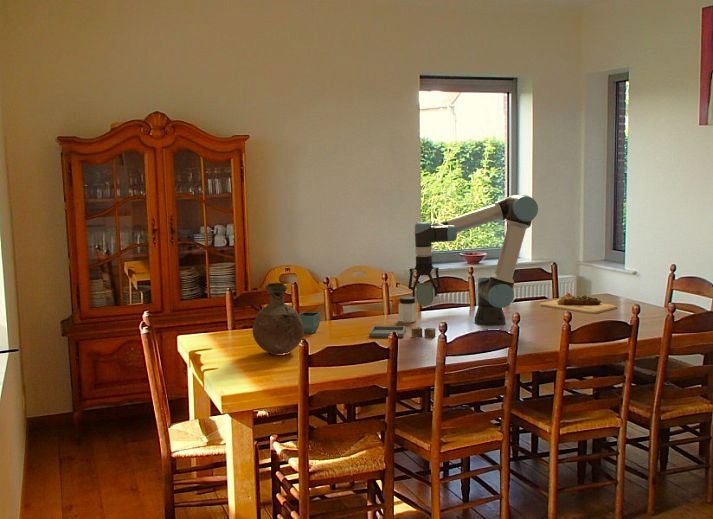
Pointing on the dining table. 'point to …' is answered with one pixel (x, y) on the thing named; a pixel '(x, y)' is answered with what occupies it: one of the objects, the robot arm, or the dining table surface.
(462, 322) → the dining table surface
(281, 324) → the jug
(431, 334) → the walnut block
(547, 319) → the dining table surface
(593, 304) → the cutting board
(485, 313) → the robot arm
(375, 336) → the tray
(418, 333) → the walnut block
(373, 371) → the dining table surface
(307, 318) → the flower pot
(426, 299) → the cup
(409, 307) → the jar
